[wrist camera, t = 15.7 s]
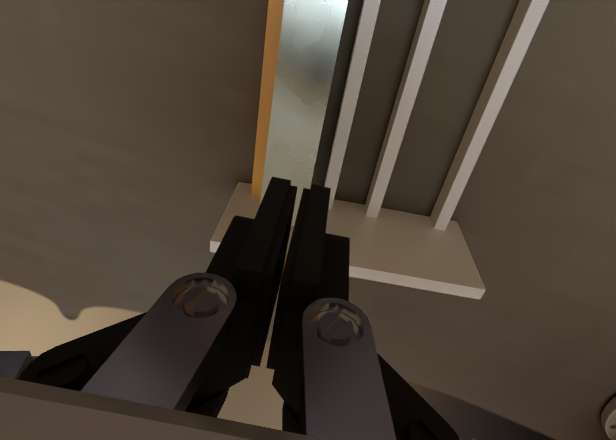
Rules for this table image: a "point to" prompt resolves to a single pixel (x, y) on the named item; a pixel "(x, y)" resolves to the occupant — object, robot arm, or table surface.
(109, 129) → the table surface
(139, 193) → the table surface
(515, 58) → the rack
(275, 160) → the panel
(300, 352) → the robot arm
